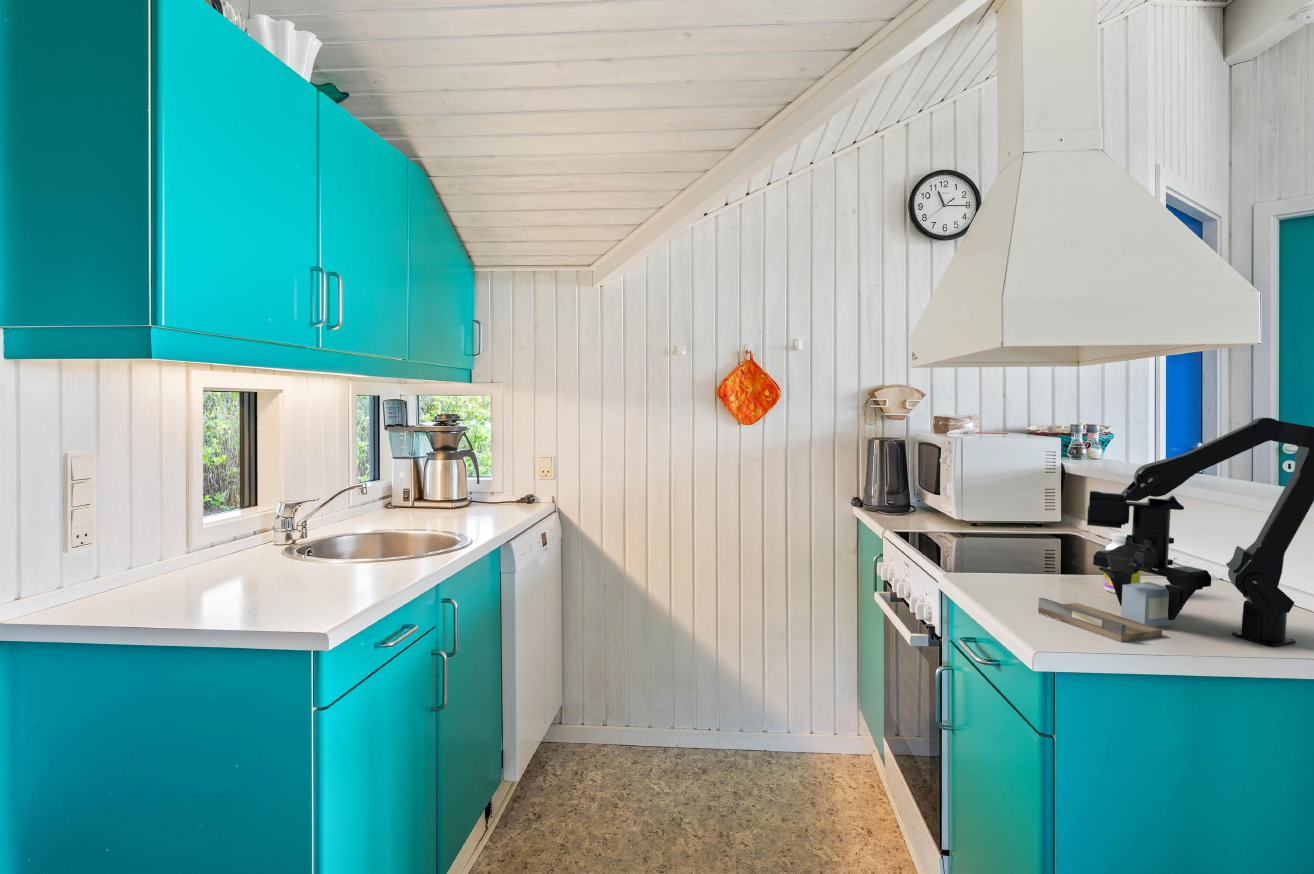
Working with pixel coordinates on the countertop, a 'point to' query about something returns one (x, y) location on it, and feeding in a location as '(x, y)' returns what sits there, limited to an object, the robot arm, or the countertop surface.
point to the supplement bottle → (1117, 541)
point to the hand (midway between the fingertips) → (1146, 612)
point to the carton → (1145, 603)
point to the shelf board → (1098, 621)
